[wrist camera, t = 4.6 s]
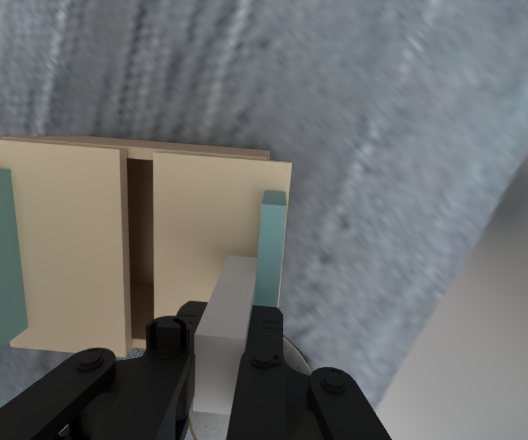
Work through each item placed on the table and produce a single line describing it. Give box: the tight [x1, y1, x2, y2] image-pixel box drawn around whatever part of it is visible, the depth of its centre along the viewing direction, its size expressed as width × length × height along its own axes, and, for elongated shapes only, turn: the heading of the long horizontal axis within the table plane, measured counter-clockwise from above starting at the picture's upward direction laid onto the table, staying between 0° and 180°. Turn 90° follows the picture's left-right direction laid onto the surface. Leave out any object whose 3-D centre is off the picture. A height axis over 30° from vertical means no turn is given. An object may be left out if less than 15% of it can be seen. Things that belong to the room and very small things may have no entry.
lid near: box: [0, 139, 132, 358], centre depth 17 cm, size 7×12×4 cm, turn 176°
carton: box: [1, 136, 270, 349], centre depth 23 cm, size 14×12×8 cm
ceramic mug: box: [189, 337, 312, 440], centre depth 26 cm, size 11×8×8 cm
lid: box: [153, 151, 292, 319], centre depth 17 cm, size 7×12×4 cm, turn 176°
